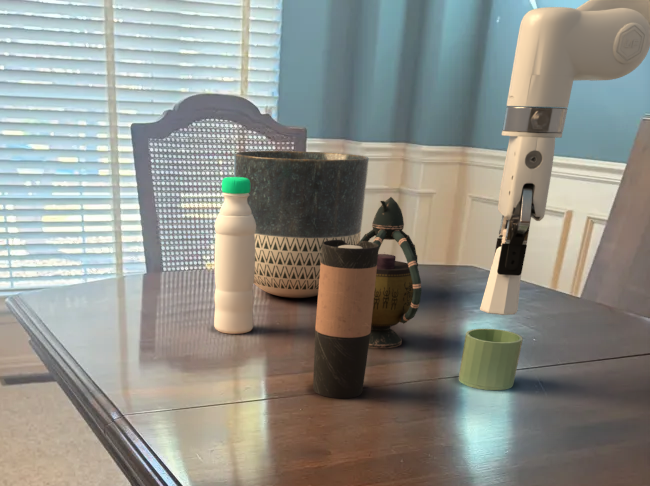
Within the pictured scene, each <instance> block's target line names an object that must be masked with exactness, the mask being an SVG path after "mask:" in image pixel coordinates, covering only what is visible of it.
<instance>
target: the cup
mask: <svg viewBox="0 0 650 486" xmlns="http://www.w3.org/2000/svg"><path fill="white" fill-rule="evenodd" d="M523 340H524V338H523V336H522V335H520V334H518V333H516V332H512V331H508V330H505V329H496V328H473V329H470V330H467V331H466V332H465V336H464V343H463V348H462V355H461V359H460V366H459V373H458V381H459V382H460V383H461V384H463V385H464V386H467V387H470V388H474V389H477V390H483V391H484V390H485V391H504V390H509V389H511V388H512V387H513V386H514V383H515V381H516V380H515V379H516V374H517V370H518V366H519V359H520V356H521V355H520V354H521V350H522V345H523Z"/></svg>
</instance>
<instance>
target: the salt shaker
mask: <svg viewBox="0 0 650 486" xmlns="http://www.w3.org/2000/svg"><path fill="white" fill-rule="evenodd" d="M512 229H513V228H512ZM506 231H507V229H504V230H503V237H502V243H505V237H506ZM502 243H501V245H502ZM501 247H502V246H501ZM501 247H499V248H497V250H496V253H495V252H494V255H495V256H494V255H493V260H492V263H491V267H490V272H489V275H488V278H487V282H486V286H485V289H484V294H483V297H482V299H481V300H482V301H481V304H480V307H479V310H480V311H482V312H484V313H487V314H489V315H491V314H492V315H498V316H509V315H511V316H513V315H516V314H517V312H518V311H519V302H520V292H521V291H520V290H521V279H522V274H521V275H500V274H498V273H497V269H498V264H499V258H500V253H501Z"/></svg>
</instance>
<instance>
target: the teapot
mask: <svg viewBox="0 0 650 486" xmlns="http://www.w3.org/2000/svg"><path fill="white" fill-rule="evenodd" d="M379 202H380V204H381V205H380V206H379V208H378V209H377V211H376V213H375V215H374V218H373V221H372V226H371V227H372V229H371V230H370V231H368V232H367V233H365V234H364V235H363V236H362V238H360V242H362V241H367V242H370V240H371V239H372V238H374V237H375V238H374V239H373V241H372V243H376V244H378V246H379V250H378V252H379V251H380V248H381V245H382V244H383V242H384V241H385V240H386V241H387V240H388V241H392V240H394V241H396V242H397V244H398V245H399V247H400V249H401V251H402V252H403V255H404V257H405V259H406V262H404V261H399V260H396V259H397V257H396V255H393V254H388V253H378V260H377V271H376V281H375V291H374V302H373V312H372V323H371V332H370V340H369V347H368V348H372V349H390V348H397V347H398V346H401V345H402V341H403V340H402V337H400V336H399V334H398V333H397V332H396V331H395V330H394V329H392V328H391V327H393V326H396V325H398V324H399V323H401V324H406V323H408V322H409V321H411V320H412V319H413V318H415V316H416V314H417V312H418V310H419V306H420V303H421V297H422V281H421V276H420V271H419V263H418V254H417V250H416V245H415V243H413V241H412V239H411V237H410V235H409V234H407V233H406V232H405V231H403V230H404V226H405V222H404V216H403V212H402V209H401V207H400V205H399V203H398V201H396V200H395V199H394V198H393V197H392V196H390V197H389V198H388V199H386V200H380V201H379ZM360 242H359V243H360ZM359 243H357V244H359Z"/></svg>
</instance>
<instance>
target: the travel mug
mask: <svg viewBox="0 0 650 486" xmlns="http://www.w3.org/2000/svg"><path fill="white" fill-rule="evenodd" d="M378 250H379V251H380V248H379V246H378V244H376V243H373V241H368V242H367V241H362V242H360V243H359V244H356V245H351V244H347V243H345V241H343V240H329V241H325V242H323V244H322V252H321V265H320V277H319V290H318V296H317V302H316V303H317V304H316V314H315V315H316V317H315V328H314V329H315V331H314V350H313V351H314V352H313V353H314V354H313V356H314V357H313V377H312V378H313V379H312V387H313V388H312V390H313V391H314V393H316V394H318V395H319V396H321V397H325V398H330V399H331V398H332V399H353V398H356V397H359V396H360V395H361V394H362V393H363V389H364V382H365V375H366V368H367V362H368V361H367V360H368V355H369V348H370V347H369V340H370V332H371V323H372V312H373V302H374V291H375V281H376V271H377V260H378V254H379V251H378Z"/></svg>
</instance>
